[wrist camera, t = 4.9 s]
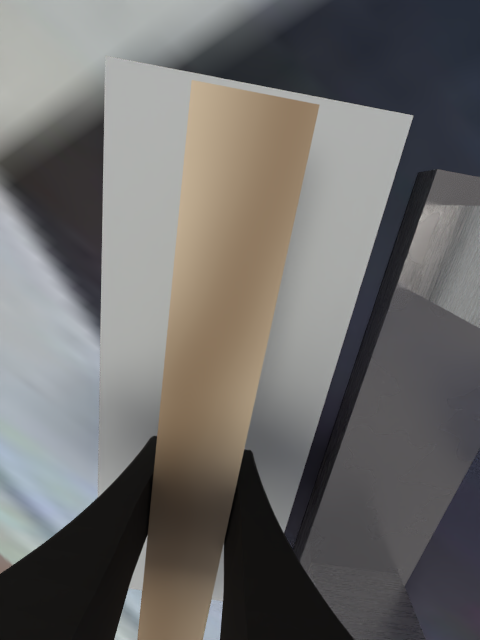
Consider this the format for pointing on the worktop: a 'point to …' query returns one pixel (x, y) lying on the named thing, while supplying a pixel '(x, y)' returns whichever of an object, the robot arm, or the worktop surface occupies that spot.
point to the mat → (296, 284)
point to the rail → (217, 335)
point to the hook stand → (402, 417)
